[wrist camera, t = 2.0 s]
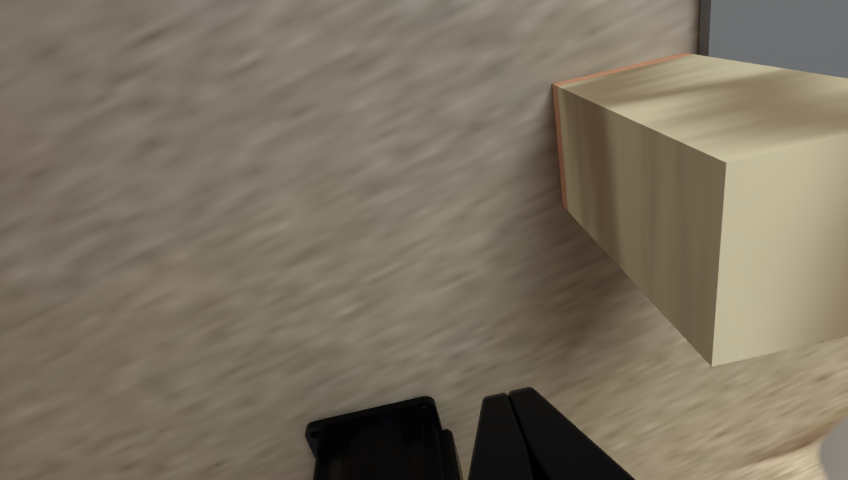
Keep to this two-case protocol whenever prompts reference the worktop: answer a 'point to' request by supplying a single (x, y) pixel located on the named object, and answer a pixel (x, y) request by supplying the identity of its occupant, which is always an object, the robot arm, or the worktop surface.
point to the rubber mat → (778, 33)
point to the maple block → (716, 195)
